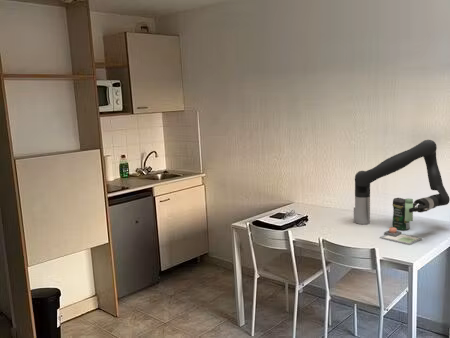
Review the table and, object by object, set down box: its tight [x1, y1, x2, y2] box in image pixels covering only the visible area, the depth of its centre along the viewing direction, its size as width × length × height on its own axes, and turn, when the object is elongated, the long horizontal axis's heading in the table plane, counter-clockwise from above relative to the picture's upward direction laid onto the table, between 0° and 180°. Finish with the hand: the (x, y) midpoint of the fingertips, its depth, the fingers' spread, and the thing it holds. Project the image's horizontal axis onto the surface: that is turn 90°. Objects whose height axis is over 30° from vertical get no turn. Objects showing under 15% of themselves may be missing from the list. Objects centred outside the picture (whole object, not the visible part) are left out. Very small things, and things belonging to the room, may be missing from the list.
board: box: [379, 230, 423, 246], centre depth 250 cm, size 18×14×2 cm
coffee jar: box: [391, 197, 411, 231], centre depth 268 cm, size 10×8×19 cm
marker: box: [404, 198, 414, 222], centre depth 244 cm, size 4×4×12 cm
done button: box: [388, 226, 398, 233], centre depth 256 cm, size 4×4×2 cm
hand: (406, 209), depth 242 cm, fingers closed on marker, 4 cm apart
